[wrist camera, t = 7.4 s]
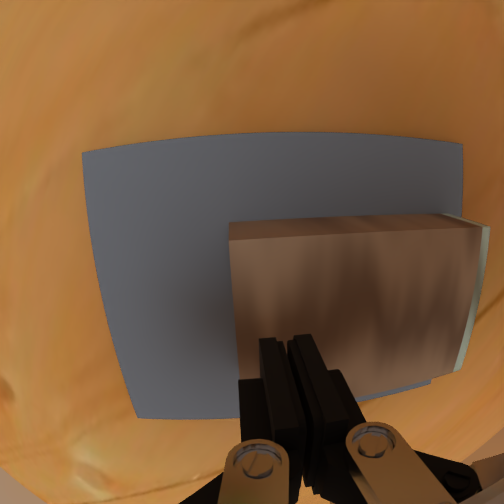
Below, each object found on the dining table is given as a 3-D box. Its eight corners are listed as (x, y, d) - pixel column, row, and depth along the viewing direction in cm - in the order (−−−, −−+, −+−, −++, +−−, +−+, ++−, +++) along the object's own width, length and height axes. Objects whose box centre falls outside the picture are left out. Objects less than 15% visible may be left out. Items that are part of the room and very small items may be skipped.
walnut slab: (228, 240, 11) (490, 226, 12) (228, 222, 14) (448, 213, 15) (242, 412, 13) (460, 369, 14) (240, 368, 17) (430, 339, 17)
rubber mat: (86, 152, 14) (81, 152, 13) (457, 144, 15) (462, 144, 14) (139, 413, 18) (137, 418, 17) (426, 379, 19) (430, 383, 18)
